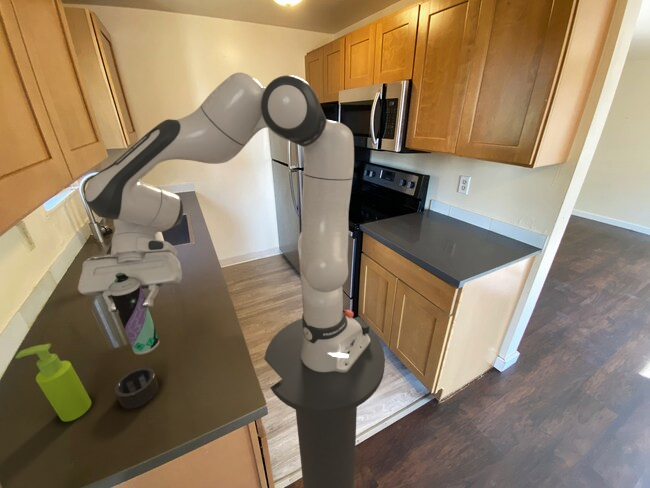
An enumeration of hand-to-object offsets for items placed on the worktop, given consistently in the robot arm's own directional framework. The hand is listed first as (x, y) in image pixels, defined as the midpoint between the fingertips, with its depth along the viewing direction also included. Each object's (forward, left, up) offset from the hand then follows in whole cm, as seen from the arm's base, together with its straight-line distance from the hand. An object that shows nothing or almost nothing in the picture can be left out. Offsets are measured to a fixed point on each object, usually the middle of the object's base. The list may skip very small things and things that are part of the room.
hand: (131, 309), depth 61 cm
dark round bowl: (+4, -2, -26) cm, 26 cm away
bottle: (-20, -82, -26) cm, 89 cm away
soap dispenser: (+17, -8, -26) cm, 32 cm away
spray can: (0, -1, -12) cm, 12 cm away
